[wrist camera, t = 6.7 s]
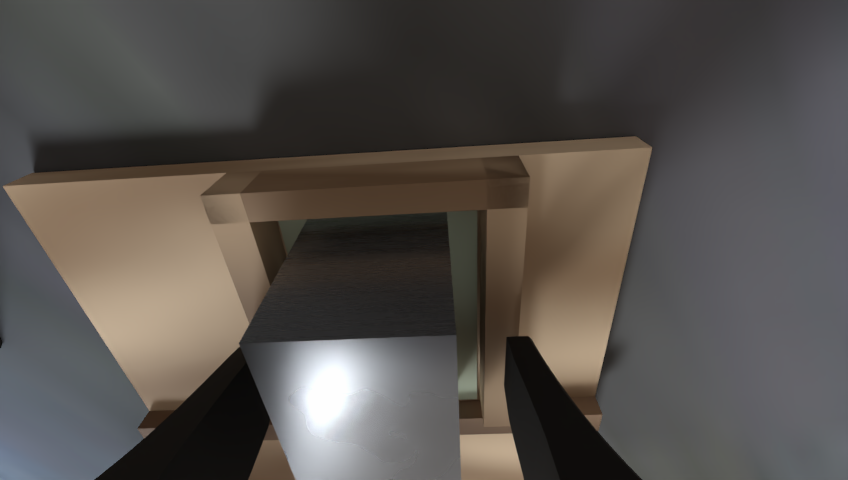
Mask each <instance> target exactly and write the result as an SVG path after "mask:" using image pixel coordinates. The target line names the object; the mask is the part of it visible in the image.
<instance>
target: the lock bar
mask: <svg viewBox="0 0 848 480" xmlns="http://www.w3.org/2000/svg"><path fill="white" fill-rule="evenodd" d="M239 345H240V348H241V350H242V353H243V355H244V357H245V360H246V362H247V364H248V367H249V369H250V372H251V374H252V376H253V379H254V381H255V384H256V386H257V388H258V391H259V393H260V396H261V398H262V400H263V403H264V405H265V408H266V410H267V412H268V415H269V417H270V420H271V422H272V424H273V427H274V429H275V431H276V434H277V436H278V439H279V441H280V443H281V446H282V448H283V451H284V453H285V455H286V458H287V460H288V463H289V465H290V467H291V470H292V472H293V475H294V477H295V479H296V480H461V459H460V429H459V400H458V370H457V341H456V325H455V312H454V299H453V286H452V273H451V260H450V247H449V234H448V222H447V212H434V213H415V214H396V215H378V216H359V217H341V218H322V219H307V221H306V222H305V224H304V226H303V228H302V230H301V232H300V233H299V235H298V237H297V239H296V241H295V242H294V244H293V246H292V248H291V250H290V252H289V253H288V255H287V257H286V259H285V261H284V262H283V264H282V266H281V268H280V270H279V271H278V273H277V275H276V277H275V279H274V281H273V282H272V284H271V286H270V288H269V290H268V291H267V293H266V295H265V297H264V299H263V301H262V302H261V304H260V306H259V308H258V310H257V311H256V313H255V315H254V317H253V319H252V320H251V322H250V324H249V326H248V328H247V330H246V331H245V333H244V335H243V337H242V339H241V340H240V342H239Z"/></svg>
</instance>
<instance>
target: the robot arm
mask: <svg viewBox="0 0 848 480" xmlns="http://www.w3.org/2000/svg"><path fill="white" fill-rule="evenodd" d="M504 389H505V396H506V403H507V410H508V417H509V422H510V426H511V430H512V434H513V438H514V442H515V446H516V450H517V454H518V458H519V462H520V466H521V470H522V474H523V478H524V480H642V479H641V478H640V477H639V476H638V475H637V474H636V473H635V472H634V471H633V470H632V469H631V468H630V467H629V466H628V465H627V464H626V463H625V461H624V460H623V459H622V458H621V457H620V456H619V455H618V454H617V453H616V452H615V451H614V450H613V449H612V447H611V446H610V445H609V444H608V443H607V442H606V441H605V440H604V438H603V437H602V436H601V435H600V434H599V433H598V431H597V430H596V429H595V428H594V427H593V425H592V424H591V423H590V422H589V420H588V419H587V418H586V417H585V416H584V414H583V413H582V412H581V411H580V409H579V408H578V407H577V405H576V404H575V403H574V401H573V400H572V399H571V397H570V396H569V395H568V393H567V392H566V391H565V389H564V388H563V387H562V385H561V384H560V383H559V381H558V380H557V378H556V377H555V375H554V374H553V372H552V371H551V369H550V368H549V366H548V365H547V363H546V362H545V360H544V359H543V357H542V356H541V354H540V352H539V351H538V349H537V347H536V346H535V344H534V342H533V340H532V339H531V338H530V337H529V336H514V337H506V356H505V375H504ZM269 423H270V417H269V415H268V412H267V410H266V408H265V405H264V403H263V400H262V398H261V396H260V393H259V391H258V388H257V386H256V384H255V381H254V379H253V376H252V374H251V372H250V369H249V367H248V364H247V362H246V360H245V357H244V355H243V353H242V350H241V348H240V347H239V348H238V349H237V350H236V351H234V352H233V353H232V354H231V355H230V356H229V357H228V358H227V359H226V360H225V361H224V362H223V363H222V364H221V365H220V366H219V367H218V368H217V369H216V370H215V371H214V372H213V373H212V374H211V375H210V376H209V377H208V378H207V379H206V380H205V381H204V382H203V383H202V384H201V385H200V386H199V387H198V388H197V389H196V390H195V391H194V392H193V393H192V394H191V395H190V396H189V397H188V398H187V399H186V400H185V401H184V402H183V403H182V404H181V405H180V406H179V407H178V408H177V409H176V410H175V411H174V412H173V413H172V414H170V415H169V416H168V417H167V418H166V419H165V420H164V421H163V422H162V423H161V424H160V425H158V426H157V427H156V428H155V429H154V430H153V431H152V432H151V433H150V434H149V435H148V436H146V437H145V438H144V439H143V440H142V441H141V442H140V443H139V444H137V445H136V446H135V447H134V448H133V449H132V450H130V451H129V452H128V453H127V454H126V455H125V456H123V457H122V458H121V459H120V460H118V461H117V462H116V463H115V464H114V465H112V466H111V467H110V468H109V469H107V470H106V471H105V472H104V473H102V474H101V475H100V476H99V477H97V478H96V479H95V480H248V479H249V477H250V474H251V472H252V469H253V466H254V464H255V461H256V459H257V456H258V454H259V451H260V448H261V446H262V443H263V440H264V438H265V435H266V432H267V430H268V427H269Z"/></svg>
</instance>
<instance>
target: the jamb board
mask: <svg viewBox="0 0 848 480" xmlns="http://www.w3.org/2000/svg"><path fill="white" fill-rule="evenodd" d="M651 151H652V147H651V146H649V145H648V144H646V143H645V142H644V141H642V140H641V139H639V138H638V137H636V136H632V137H615V138H599V139H582V140H566V141H550V142H533V143H517V144H500V145H484V146H467V147H451V148H435V149H418V150H402V151H385V152H369V153H352V154H336V155H320V156H303V157H287V158H270V159H254V160H237V161H221V162H205V163H188V164H172V165H155V166H139V167H122V168H106V169H89V170H73V171H57V172H40V173H31V174H29V175H27V176H24V177H22V178H20V179H18V180H15V181H13V182H11V183H9V184H6V185H4V186H3V187H4V189H5V191H6V192H7V194H8V195H9V197H10V198H11V200H12V201H13V203H14V204H15V206H16V207H17V209H18V210H19V212H20V213H21V215H22V217H23V218H24V220H25V221H26V223H27V224H28V226H29V227H30V229H31V230H32V232H33V233H34V235H35V236H36V238H37V239H38V241H39V243H40V244H41V246H42V247H43V249H44V250H45V252H46V253H47V255H48V256H49V258H50V259H51V261H52V262H53V264H54V265H55V267H56V269H57V270H58V272H59V273H60V275H61V276H62V278H63V279H64V281H65V282H66V284H67V285H68V287H69V288H70V290H71V291H72V293H73V295H74V296H75V298H76V299H77V301H78V302H79V304H80V305H81V307H82V308H83V310H84V311H85V313H86V314H87V316H88V318H89V319H90V321H91V322H92V324H93V325H94V327H95V328H96V330H97V331H98V333H99V334H100V336H101V337H102V339H103V340H104V342H105V344H106V345H107V347H108V348H109V350H110V351H111V353H112V354H113V356H114V357H115V359H116V360H117V362H118V363H119V365H120V366H121V368H122V370H123V371H124V373H125V374H126V376H127V377H128V379H129V380H130V382H131V383H132V385H133V386H134V388H135V389H136V391H137V392H138V394H139V396H140V397H141V399H142V400H143V402H144V403H145V405H146V406H147V408H148V409H149V412H148V414H147V415H146V417H145V418H144V420H143V421H142V423H141V424H140V426H139V427H138V430H139V432H140V433H141V434H142V436H143V437H144V438H145V437H146V436H148V435H149V434H150V433H151V432H152V431H153V430H154V429H155V428H156V427H157V426H158V425H160V424H161V423H162V422H163V421H164V420H165V419H166V418H167V417H168V416H169V415H170V414H172V413H173V412H174V411H175V410H176V409H177V408H178V407H179V406H180V405H181V404H182V403H183V402H184V401H185V400H186V399H187V398H188V397H189V396H190V395H191V394H192V393H193V392H194V391H195V390H196V389H197V388H198V387H199V386H200V385H201V384H202V383H203V382H204V381H205V380H206V379H207V378H208V377H209V376H210V375H211V374H212V373H213V372H214V371H215V370H216V369H217V368H218V367H219V366H220V365H221V364H222V363H223V362H224V361H225V360H226V359H227V358H228V357H229V356H230V355H231V354H232V353H233V352H234V351H236V350H237V349H238V348H239V347H240V345H239V342H240V340H241V339H242V337H243V335H244V333H245V331H246V330H247V328H248V326H249V324H250V322H251V320H252V319H253V317H254V315H255V313H256V311H257V310H258V308H259V306H260V304H261V302H262V301H263V299H264V297H265V295H266V293H267V291H268V290H269V288H270V286H271V284H272V282H273V281H274V279H275V277H276V275H277V273H278V271H279V270H280V268H281V266H282V264H283V262H284V261H285V259H286V257H287V255H288V253H289V252H290V250H291V248H292V246H293V244H294V242H295V241H296V239H297V237H298V235H299V233H300V232H301V230H302V228H303V226H304V224H305V222H306V221H307V219H322V218H341V217H359V216H378V215H396V214H415V213H434V212H447V222H448V234H449V247H450V260H451V273H452V286H453V299H454V312H455V325H456V341H457V370H458V400H459V429H460V459H461V480H524V478H523V474H522V470H521V466H520V462H519V458H518V454H517V450H516V446H515V442H514V438H513V434H512V430H511V426H510V422H509V417H508V410H507V403H506V396H505V389H504V375H505V356H506V337H514V336H529V337H530V338H531V339H532V340H533V342H534V344H535V346H536V347H537V349H538V351H539V352H540V354H541V356H542V357H543V359H544V360H545V362H546V363H547V365H548V366H549V368H550V369H551V371H552V372H553V374H554V375H555V377H556V378H557V380H558V381H559V383H560V384H561V385H562V387H563V388H564V389H565V391H566V392H567V393H568V395H569V396H570V397H571V399H572V400H573V401H574V403H575V404H576V405H577V407H578V408H579V409H580V411H581V412H582V413H583V414H584V416H585V417H586V418H587V419H588V420H589V422H590V423H591V424H592V425H593V427H594V428H595V429H596V430H597V431H598V430H599V426H600V422H601V418H602V412H601V410H600V407H599V405H598V403H597V400H596V398H595V394H596V390H597V385H598V381H599V377H600V372H601V368H602V364H603V359H604V355H605V351H606V346H607V342H608V338H609V333H610V329H611V325H612V320H613V316H614V312H615V307H616V303H617V299H618V294H619V290H620V286H621V281H622V277H623V273H624V268H625V264H626V260H627V255H628V251H629V247H630V242H631V238H632V234H633V229H634V225H635V221H636V216H637V212H638V208H639V203H640V199H641V195H642V190H643V186H644V182H645V177H646V173H647V169H648V164H649V160H650V156H651ZM248 480H296V479H295V477H294V475H293V472H292V470H291V467H290V465H289V463H288V460H287V458H286V455H285V453H284V451H283V448H282V446H281V443H280V441H279V439H278V436H277V434H276V431H275V429H274V427H273V424H272V422H271V420H270V423H269V427H268V430H267V432H266V435H265V438H264V440H263V443H262V446H261V448H260V451H259V454H258V456H257V459H256V461H255V464H254V466H253V469H252V472H251V474H250V477H249V479H248Z"/></svg>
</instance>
